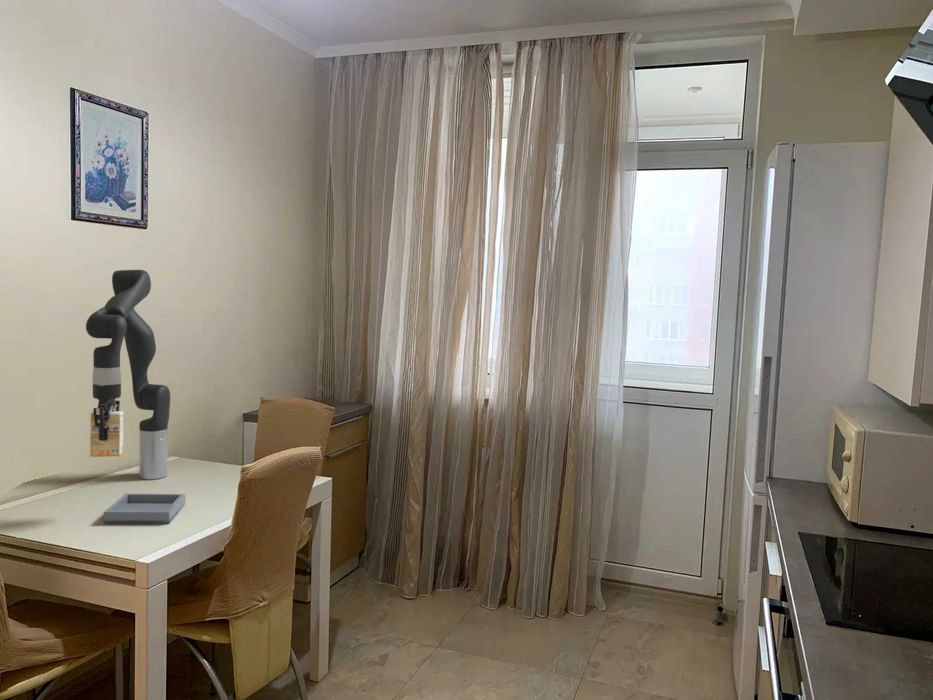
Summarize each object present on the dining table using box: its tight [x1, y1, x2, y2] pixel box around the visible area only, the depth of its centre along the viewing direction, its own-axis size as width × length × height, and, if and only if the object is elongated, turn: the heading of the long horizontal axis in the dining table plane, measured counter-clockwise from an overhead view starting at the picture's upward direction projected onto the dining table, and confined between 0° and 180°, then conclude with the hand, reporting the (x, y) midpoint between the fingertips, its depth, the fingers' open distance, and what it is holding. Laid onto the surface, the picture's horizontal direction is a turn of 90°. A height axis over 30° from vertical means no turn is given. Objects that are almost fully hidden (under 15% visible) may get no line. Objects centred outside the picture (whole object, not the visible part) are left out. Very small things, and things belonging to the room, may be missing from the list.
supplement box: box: [89, 410, 124, 458], centre depth 211 cm, size 8×5×13 cm, turn 104°
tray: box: [103, 492, 186, 525], centre depth 215 cm, size 18×18×4 cm
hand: (107, 437), depth 211 cm, fingers closed on supplement box, 5 cm apart
